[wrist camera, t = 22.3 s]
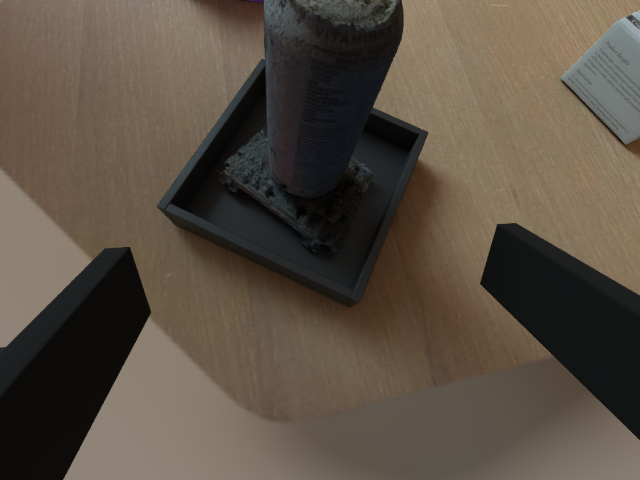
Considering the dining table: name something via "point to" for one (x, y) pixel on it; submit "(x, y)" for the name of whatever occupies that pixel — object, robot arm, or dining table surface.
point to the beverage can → (317, 112)
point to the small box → (612, 78)
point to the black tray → (270, 231)
